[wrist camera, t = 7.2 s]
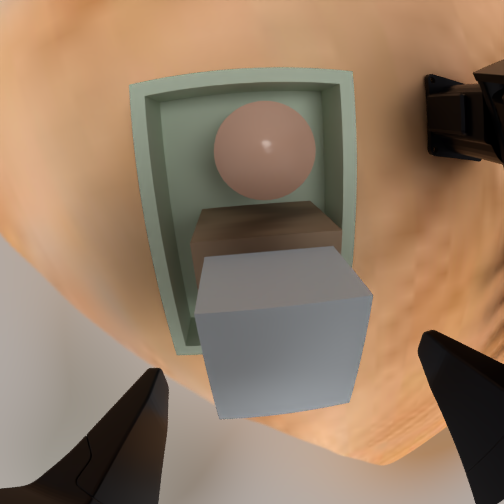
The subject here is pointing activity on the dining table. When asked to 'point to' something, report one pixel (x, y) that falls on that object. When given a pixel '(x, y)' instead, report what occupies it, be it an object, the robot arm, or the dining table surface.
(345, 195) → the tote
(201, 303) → the gray block
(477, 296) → the dining table surface
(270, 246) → the walnut block
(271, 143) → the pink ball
